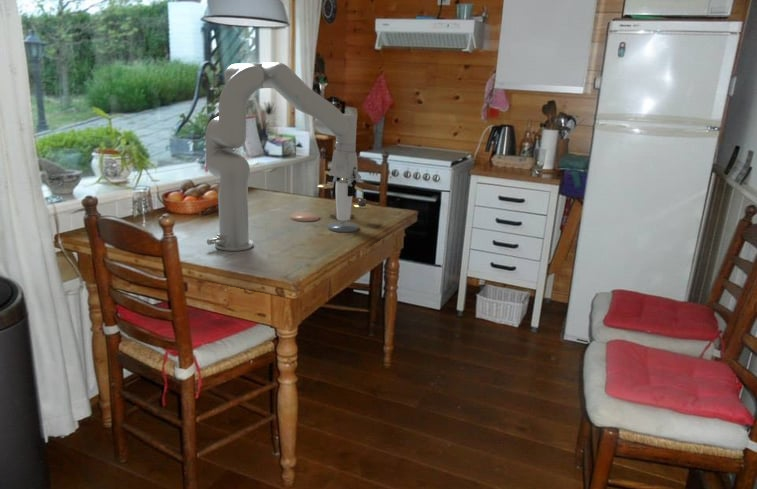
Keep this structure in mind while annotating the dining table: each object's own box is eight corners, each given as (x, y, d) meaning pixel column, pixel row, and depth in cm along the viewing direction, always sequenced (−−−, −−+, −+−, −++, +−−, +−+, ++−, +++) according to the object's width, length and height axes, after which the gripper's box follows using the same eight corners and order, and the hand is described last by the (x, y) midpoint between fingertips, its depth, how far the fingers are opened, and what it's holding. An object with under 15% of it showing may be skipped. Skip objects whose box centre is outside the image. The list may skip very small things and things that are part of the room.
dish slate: (343, 234, 209) (343, 231, 209) (321, 227, 216) (321, 225, 216) (364, 228, 218) (364, 226, 218) (342, 222, 225) (342, 220, 225)
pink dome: (303, 223, 221) (303, 220, 221) (284, 217, 228) (284, 215, 228) (325, 218, 230) (325, 216, 230) (305, 212, 237) (305, 210, 237)
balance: (360, 226, 222) (362, 181, 216) (312, 212, 239) (312, 170, 234) (374, 222, 227) (376, 179, 222) (325, 209, 245) (326, 168, 240)
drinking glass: (349, 222, 212) (350, 184, 208) (332, 220, 214) (333, 182, 209) (353, 218, 219) (355, 180, 214) (337, 216, 220) (338, 179, 215)
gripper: (322, 145, 210) (321, 191, 216) (355, 151, 200) (353, 199, 205) (336, 144, 216) (334, 189, 221) (369, 150, 205) (367, 197, 211)
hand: (344, 193), depth 213 cm, fingers closed on drinking glass, 6 cm apart
